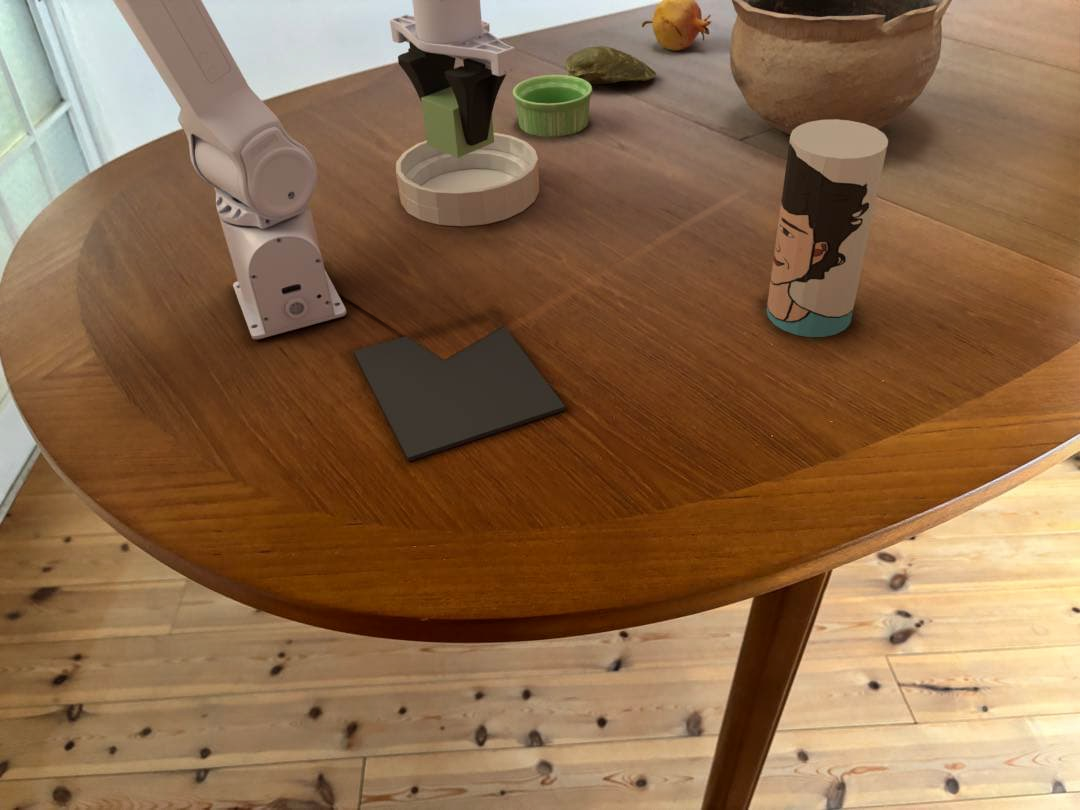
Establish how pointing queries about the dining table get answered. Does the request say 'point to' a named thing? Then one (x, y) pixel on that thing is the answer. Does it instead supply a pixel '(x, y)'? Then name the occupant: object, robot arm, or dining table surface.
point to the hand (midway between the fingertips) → (459, 134)
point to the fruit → (678, 23)
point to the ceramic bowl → (834, 58)
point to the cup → (824, 225)
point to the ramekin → (553, 105)
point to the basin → (468, 182)
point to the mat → (455, 391)
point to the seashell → (607, 66)
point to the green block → (447, 124)
